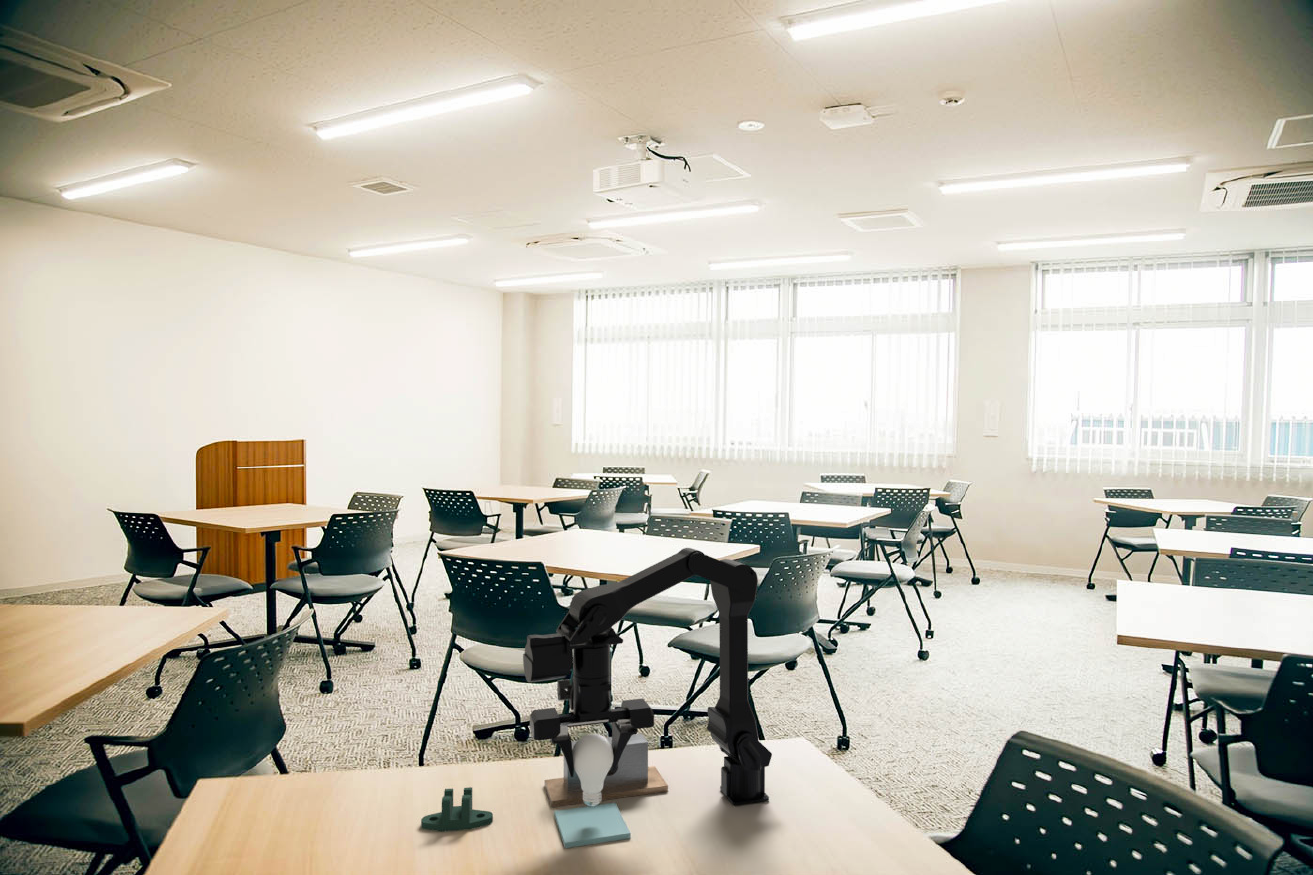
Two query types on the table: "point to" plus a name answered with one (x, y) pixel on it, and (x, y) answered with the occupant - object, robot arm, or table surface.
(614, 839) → the pad
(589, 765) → the light bulb
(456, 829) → the mount
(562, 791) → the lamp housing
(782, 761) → the table surface
